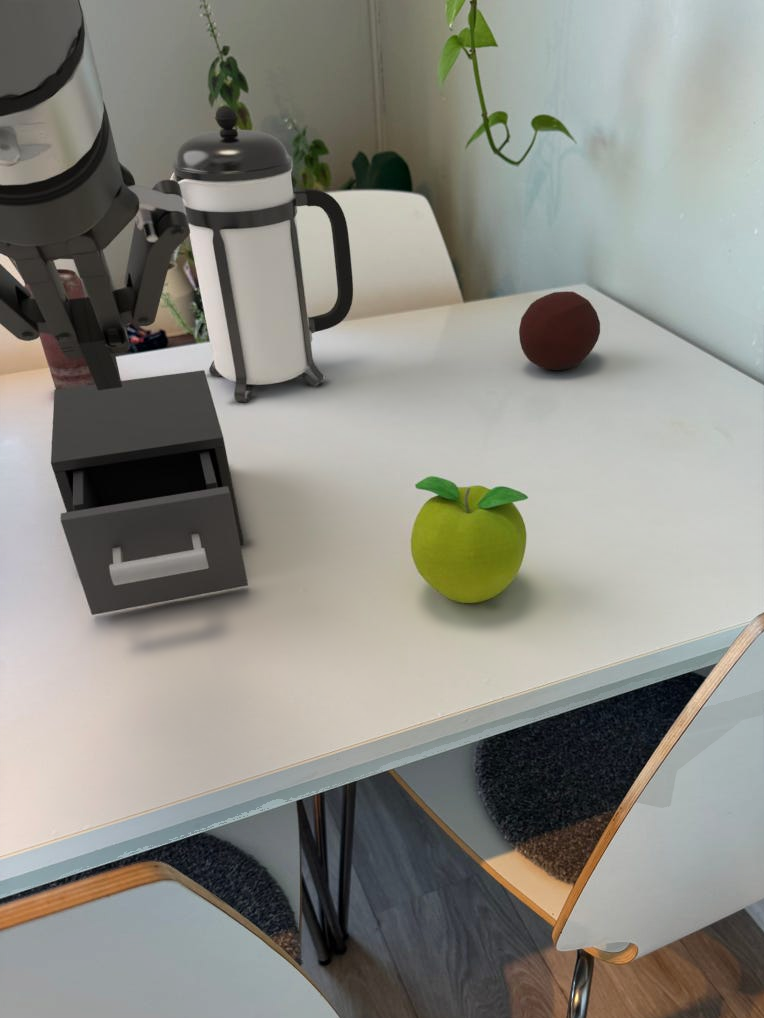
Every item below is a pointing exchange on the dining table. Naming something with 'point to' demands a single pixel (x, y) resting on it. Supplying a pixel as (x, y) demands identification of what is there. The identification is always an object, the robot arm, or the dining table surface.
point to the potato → (559, 330)
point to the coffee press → (255, 254)
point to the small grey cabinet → (136, 427)
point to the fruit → (468, 539)
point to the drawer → (152, 531)
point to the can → (60, 366)
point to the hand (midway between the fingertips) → (105, 368)
